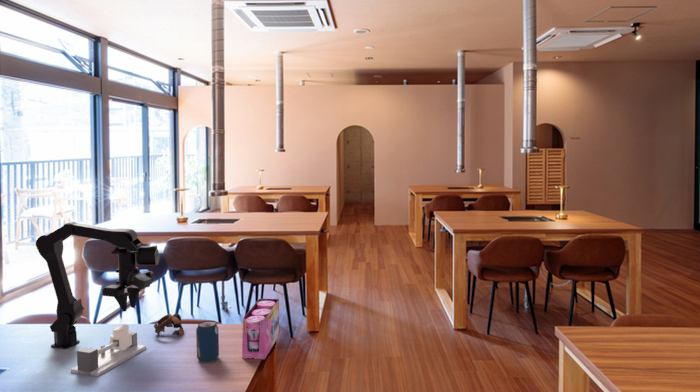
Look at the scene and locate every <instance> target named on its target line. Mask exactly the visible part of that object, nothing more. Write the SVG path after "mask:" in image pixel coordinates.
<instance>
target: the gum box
mask: <svg viewBox="0 0 700 392" xmlns="http://www.w3.org/2000/svg"><path fill="white" fill-rule="evenodd" d="M279 336H280V299H279V298H259V299H258V300H256V302H255V303H254V304H253V306H252V307H250V309H249V310H248V311H247V313H246V314H244V316H243V317H242V339H241V340H242V342H241V343H242V344H241V345H242V347H241V348H242V352H241V354H242V357H241V358H242V359H247V358H250V360H252V359H251V358H254V359H253V360H266V358H267V356H268V355H269V353H270V351H271V350H272V348H273V346H274V344H276V341H277V339H278V338H279Z"/></svg>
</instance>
